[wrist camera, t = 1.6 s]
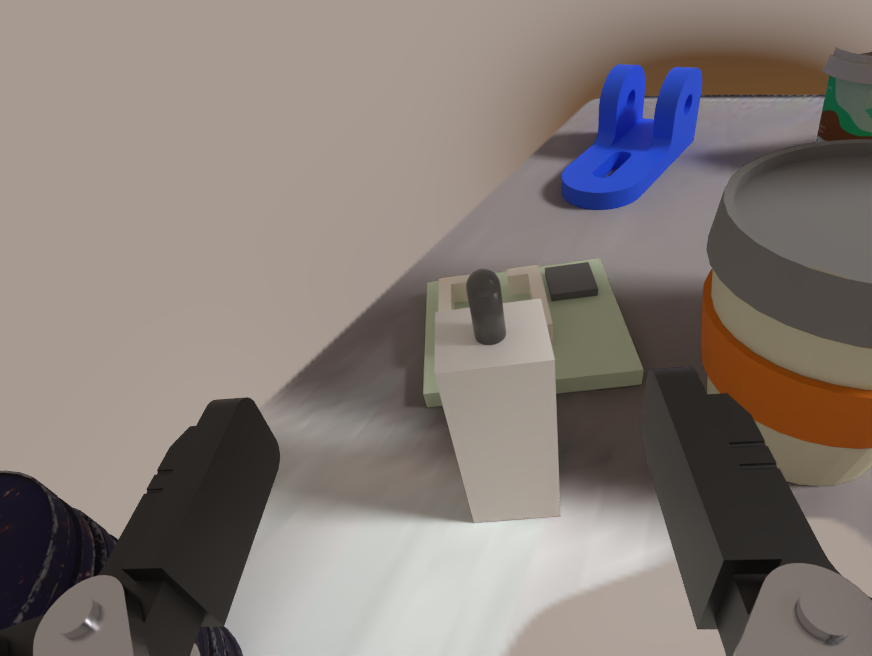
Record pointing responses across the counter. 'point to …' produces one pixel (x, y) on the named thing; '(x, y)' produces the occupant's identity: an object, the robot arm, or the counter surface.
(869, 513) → the counter surface
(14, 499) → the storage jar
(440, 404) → the board
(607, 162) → the bracket
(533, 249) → the counter surface
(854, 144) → the reusable coffee cup
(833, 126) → the food container
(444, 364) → the plug
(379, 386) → the counter surface
